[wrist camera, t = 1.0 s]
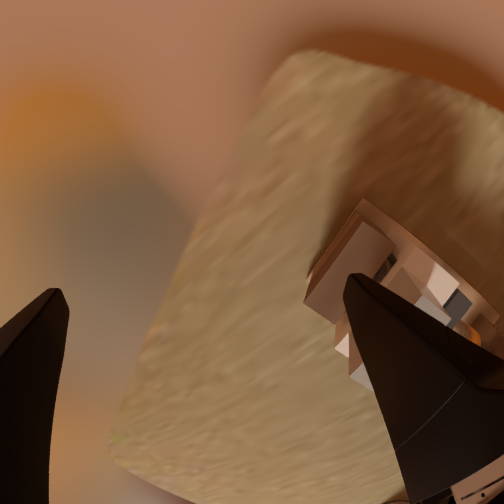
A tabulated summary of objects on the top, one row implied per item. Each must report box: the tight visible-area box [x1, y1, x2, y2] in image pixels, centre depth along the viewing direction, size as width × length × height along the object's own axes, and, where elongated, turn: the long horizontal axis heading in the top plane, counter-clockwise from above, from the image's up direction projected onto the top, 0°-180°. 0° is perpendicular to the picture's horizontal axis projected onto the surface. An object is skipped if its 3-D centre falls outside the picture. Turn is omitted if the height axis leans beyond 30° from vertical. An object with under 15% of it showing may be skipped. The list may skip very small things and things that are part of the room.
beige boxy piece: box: [334, 227, 460, 392], centre depth 14 cm, size 3×6×10 cm, turn 150°
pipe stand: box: [303, 197, 504, 360], centre depth 16 cm, size 15×7×7 cm, turn 60°
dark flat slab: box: [442, 288, 473, 329], centre depth 15 cm, size 1×6×6 cm, turn 150°
